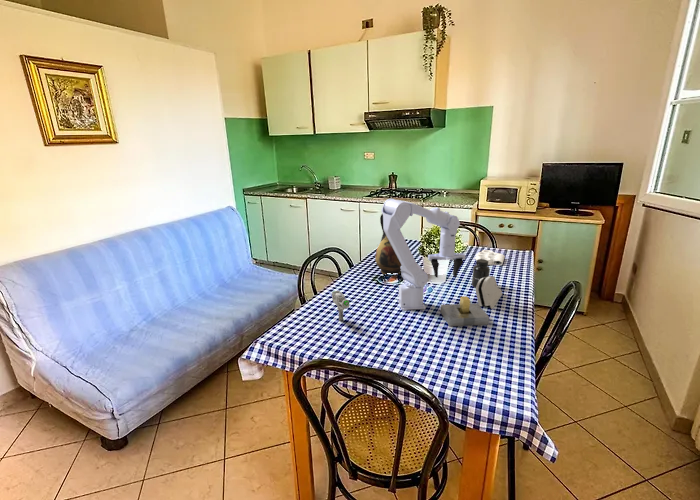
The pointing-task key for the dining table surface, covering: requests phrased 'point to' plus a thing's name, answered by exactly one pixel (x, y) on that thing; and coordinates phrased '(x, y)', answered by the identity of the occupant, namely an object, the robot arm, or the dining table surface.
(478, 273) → the supplement bottle
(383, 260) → the ceramic jug
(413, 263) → the robot arm
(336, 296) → the mechanical component
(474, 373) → the dining table surface
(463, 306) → the wood grain block
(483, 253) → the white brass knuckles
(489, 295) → the white angular device
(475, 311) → the grey slotted plate
